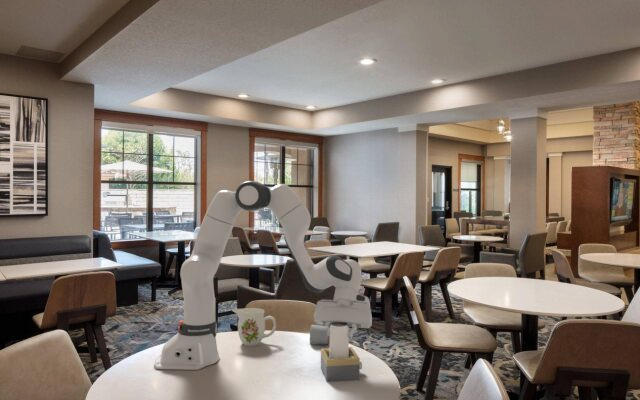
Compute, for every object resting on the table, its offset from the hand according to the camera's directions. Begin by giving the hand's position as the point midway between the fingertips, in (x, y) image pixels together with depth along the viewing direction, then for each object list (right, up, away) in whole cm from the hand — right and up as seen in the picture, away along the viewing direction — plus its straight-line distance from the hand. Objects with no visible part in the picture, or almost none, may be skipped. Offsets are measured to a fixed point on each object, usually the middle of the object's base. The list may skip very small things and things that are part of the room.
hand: (339, 336), depth 148 cm
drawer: (0, -13, +1) cm, 13 cm away
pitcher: (-34, -13, +31) cm, 48 cm away
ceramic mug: (-7, -13, +33) cm, 36 cm away
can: (0, -8, +1) cm, 8 cm away
